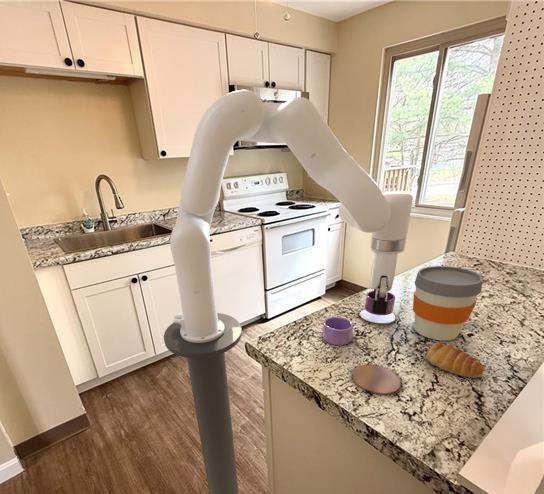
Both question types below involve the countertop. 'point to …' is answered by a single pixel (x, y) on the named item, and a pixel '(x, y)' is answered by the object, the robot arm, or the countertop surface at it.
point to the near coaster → (376, 379)
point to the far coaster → (377, 318)
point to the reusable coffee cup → (444, 300)
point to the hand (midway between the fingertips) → (378, 306)
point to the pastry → (454, 360)
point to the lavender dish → (337, 330)
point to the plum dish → (370, 298)
